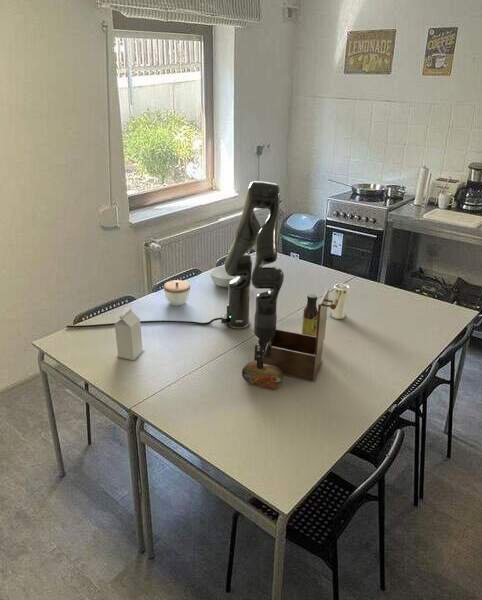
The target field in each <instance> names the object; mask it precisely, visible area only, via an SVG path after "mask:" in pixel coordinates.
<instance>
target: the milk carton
mask: <svg viewBox="0 0 482 600" xmlns="http://www.w3.org/2000/svg"><path fill="white" fill-rule="evenodd" d="M118 318H119V320H118V321H116V322H114V323H115V325H114V330H115V331H114V332H115V341H116V349H117V357H118V358H121V359H125V360H131V361H135V360H136V359H137V358H138V357H139V356H140V355H141V354H142V352H143V341H142V327H141V323H140V321H141V319H140V318H139V317H138V315H137V314H136V313H134V311H132V308H129V309H128V310H127V311H126V312H125V313H122V314H120V315H119V316H118Z"/></svg>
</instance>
